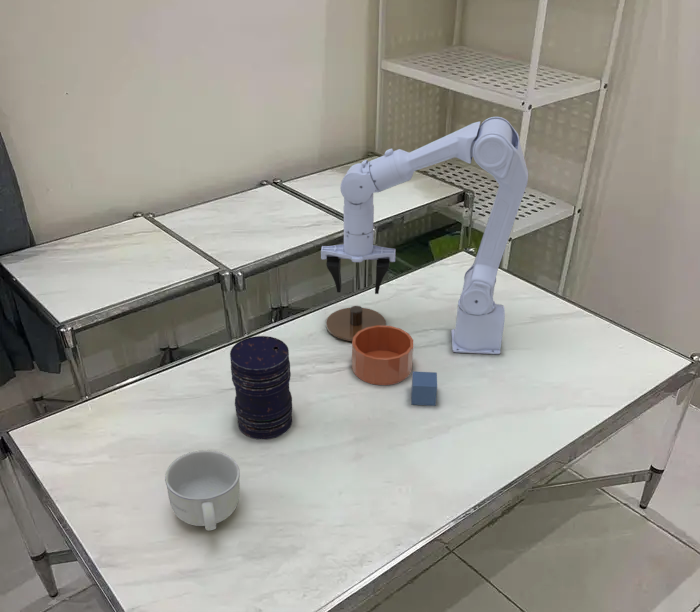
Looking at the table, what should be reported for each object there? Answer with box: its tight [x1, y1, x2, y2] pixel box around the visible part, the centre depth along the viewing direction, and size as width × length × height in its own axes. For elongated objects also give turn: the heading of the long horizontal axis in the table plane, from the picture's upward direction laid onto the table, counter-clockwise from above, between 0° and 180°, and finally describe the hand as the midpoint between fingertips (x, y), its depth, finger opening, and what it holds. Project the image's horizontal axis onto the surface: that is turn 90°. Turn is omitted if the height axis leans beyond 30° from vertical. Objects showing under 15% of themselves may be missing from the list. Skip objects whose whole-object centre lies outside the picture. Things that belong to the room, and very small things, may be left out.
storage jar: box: [229, 335, 293, 441], centre depth 123 cm, size 10×10×15 cm
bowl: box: [351, 325, 414, 386], centre depth 139 cm, size 12×12×6 cm
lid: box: [325, 305, 387, 342], centre depth 151 cm, size 13×13×4 cm
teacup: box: [164, 449, 241, 531], centre depth 107 cm, size 14×11×8 cm
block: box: [410, 370, 438, 407], centre depth 132 cm, size 4×4×4 cm
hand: (358, 290), depth 146 cm, fingers open, 7 cm apart
